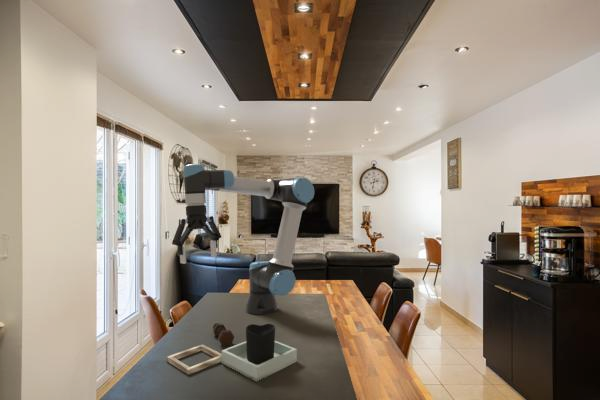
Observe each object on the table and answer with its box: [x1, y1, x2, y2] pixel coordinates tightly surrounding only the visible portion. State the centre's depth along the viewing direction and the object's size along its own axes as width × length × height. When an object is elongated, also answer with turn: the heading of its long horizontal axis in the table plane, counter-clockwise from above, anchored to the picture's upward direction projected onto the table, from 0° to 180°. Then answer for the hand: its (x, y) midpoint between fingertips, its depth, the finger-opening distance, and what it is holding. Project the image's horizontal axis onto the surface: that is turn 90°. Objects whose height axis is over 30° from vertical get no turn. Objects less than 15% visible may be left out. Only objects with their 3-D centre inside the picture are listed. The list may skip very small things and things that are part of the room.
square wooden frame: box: [166, 343, 222, 376], centre depth 110 cm, size 13×13×2 cm
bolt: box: [212, 323, 235, 347], centre depth 129 cm, size 6×5×15 cm
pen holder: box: [245, 323, 276, 365], centre depth 110 cm, size 9×9×10 cm
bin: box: [220, 340, 298, 382], centre depth 109 cm, size 17×17×4 cm
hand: (199, 260), depth 131 cm, fingers open, 13 cm apart
